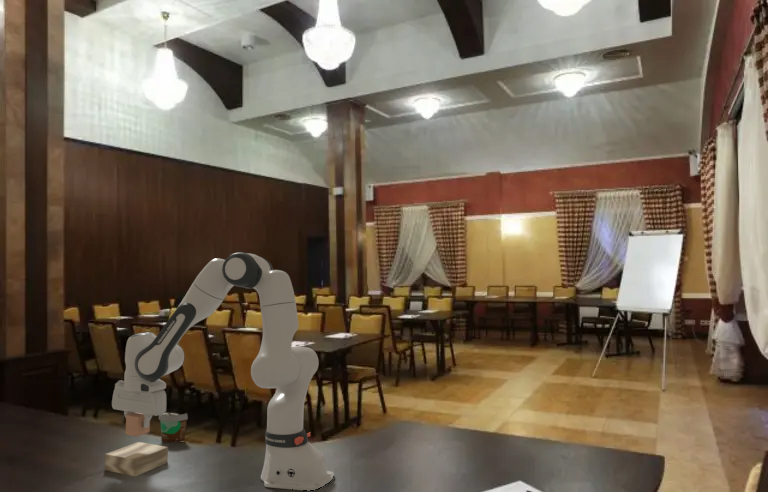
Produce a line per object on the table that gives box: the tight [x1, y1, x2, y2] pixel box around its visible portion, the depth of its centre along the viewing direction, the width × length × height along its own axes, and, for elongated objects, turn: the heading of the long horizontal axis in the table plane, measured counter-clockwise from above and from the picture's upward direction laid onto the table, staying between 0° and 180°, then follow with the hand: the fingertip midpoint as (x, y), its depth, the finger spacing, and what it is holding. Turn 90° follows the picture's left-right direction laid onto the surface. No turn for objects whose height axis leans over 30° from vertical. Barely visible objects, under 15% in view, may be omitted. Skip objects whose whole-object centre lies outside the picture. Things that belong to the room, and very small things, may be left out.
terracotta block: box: [125, 412, 151, 437], centre depth 173 cm, size 5×5×6 cm
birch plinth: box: [104, 441, 169, 477], centre depth 172 cm, size 13×13×5 cm
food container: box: [158, 410, 189, 443], centre depth 198 cm, size 12×6×10 cm, turn 62°
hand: (137, 425), depth 173 cm, fingers closed on terracotta block, 5 cm apart
